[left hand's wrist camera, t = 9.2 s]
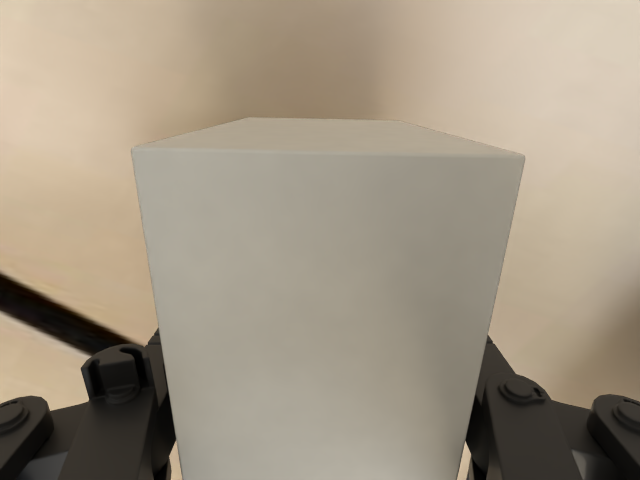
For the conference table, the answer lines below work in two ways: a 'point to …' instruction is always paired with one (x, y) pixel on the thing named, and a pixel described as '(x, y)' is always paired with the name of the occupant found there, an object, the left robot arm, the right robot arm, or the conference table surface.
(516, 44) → the conference table surface
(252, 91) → the conference table surface
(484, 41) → the conference table surface
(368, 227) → the post
